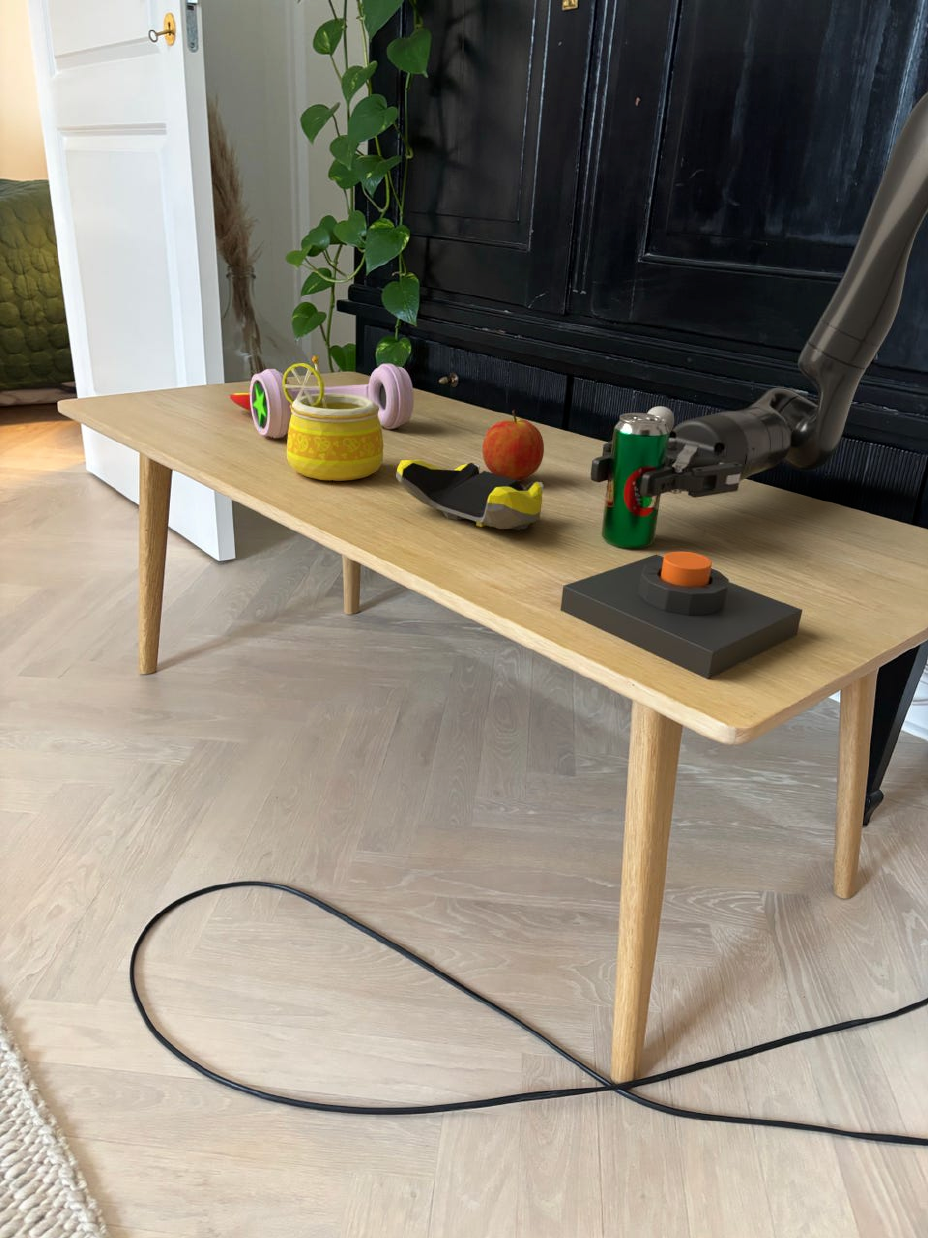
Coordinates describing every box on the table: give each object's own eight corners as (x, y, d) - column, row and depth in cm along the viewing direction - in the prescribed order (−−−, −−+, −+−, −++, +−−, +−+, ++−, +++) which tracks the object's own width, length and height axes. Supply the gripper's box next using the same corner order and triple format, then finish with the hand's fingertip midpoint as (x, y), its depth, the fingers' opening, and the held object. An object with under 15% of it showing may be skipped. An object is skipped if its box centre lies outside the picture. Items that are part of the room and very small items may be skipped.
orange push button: (717, 583, 70) (721, 561, 69) (689, 594, 68) (693, 572, 67) (679, 568, 72) (682, 547, 72) (651, 578, 70) (654, 557, 69)
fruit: (529, 470, 108) (535, 402, 105) (549, 487, 102) (556, 417, 99) (473, 471, 107) (477, 403, 103) (491, 489, 101) (495, 417, 97)
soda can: (608, 529, 91) (622, 409, 85) (658, 538, 89) (676, 416, 84) (594, 545, 86) (609, 419, 81) (647, 555, 85) (665, 427, 80)
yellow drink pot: (400, 479, 102) (403, 370, 97) (308, 490, 97) (306, 375, 92) (353, 451, 112) (353, 351, 107) (267, 459, 107) (263, 354, 102)
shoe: (501, 552, 83) (564, 528, 90) (505, 494, 81) (569, 474, 88) (386, 511, 92) (451, 492, 99) (386, 458, 90) (453, 442, 97)
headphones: (271, 382, 108) (220, 334, 122) (270, 459, 113) (222, 405, 127) (418, 374, 117) (355, 331, 132) (411, 446, 123) (352, 397, 137)
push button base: (797, 635, 71) (808, 588, 69) (707, 680, 63) (717, 628, 62) (652, 577, 80) (659, 534, 78) (560, 610, 72) (565, 564, 71)
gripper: (664, 400, 97) (562, 421, 86) (788, 428, 88) (693, 456, 77) (654, 469, 100) (555, 497, 89) (773, 503, 91) (679, 539, 80)
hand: (619, 478), depth 83 cm, fingers closed on soda can, 5 cm apart
